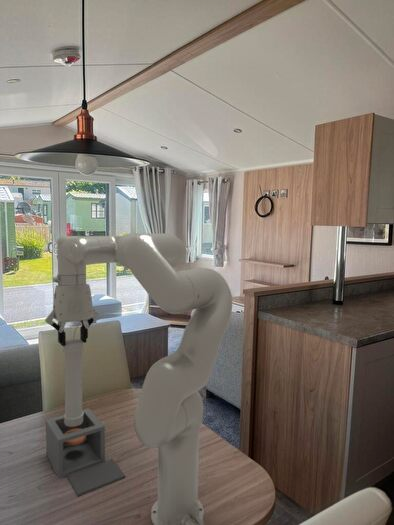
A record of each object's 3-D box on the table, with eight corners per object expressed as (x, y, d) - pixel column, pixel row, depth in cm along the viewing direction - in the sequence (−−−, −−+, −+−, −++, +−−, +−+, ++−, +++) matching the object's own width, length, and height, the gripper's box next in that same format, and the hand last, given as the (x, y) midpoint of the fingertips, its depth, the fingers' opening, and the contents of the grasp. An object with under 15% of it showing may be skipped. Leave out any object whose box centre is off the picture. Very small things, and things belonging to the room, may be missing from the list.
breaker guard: (104, 462, 111) (104, 426, 110) (59, 478, 104) (58, 440, 103) (89, 441, 122) (88, 408, 121) (46, 454, 114) (45, 419, 113)
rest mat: (125, 477, 105) (125, 475, 105) (77, 496, 97) (77, 494, 97) (112, 460, 112) (112, 458, 112) (67, 477, 105) (67, 475, 104)
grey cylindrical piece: (59, 424, 110) (58, 322, 107) (75, 415, 116) (75, 317, 113) (73, 429, 108) (73, 325, 105) (89, 419, 113) (89, 320, 110)
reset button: (89, 445, 112) (89, 435, 111) (67, 453, 108) (67, 442, 108) (82, 435, 117) (82, 426, 116) (60, 442, 113) (60, 432, 113)
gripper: (43, 284, 99) (45, 352, 101) (106, 279, 109) (106, 341, 111) (36, 280, 105) (38, 344, 107) (96, 276, 115) (97, 335, 117)
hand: (73, 342), depth 109 cm, fingers closed on grey cylindrical piece, 5 cm apart
